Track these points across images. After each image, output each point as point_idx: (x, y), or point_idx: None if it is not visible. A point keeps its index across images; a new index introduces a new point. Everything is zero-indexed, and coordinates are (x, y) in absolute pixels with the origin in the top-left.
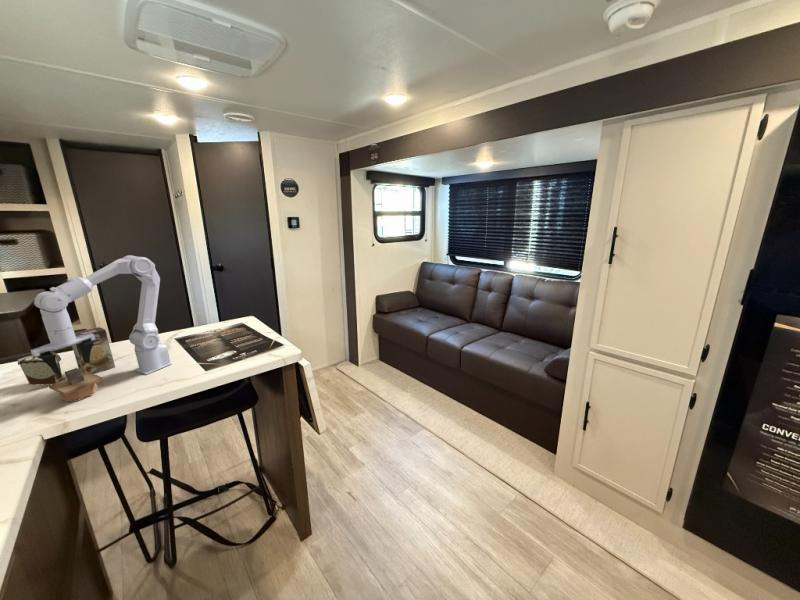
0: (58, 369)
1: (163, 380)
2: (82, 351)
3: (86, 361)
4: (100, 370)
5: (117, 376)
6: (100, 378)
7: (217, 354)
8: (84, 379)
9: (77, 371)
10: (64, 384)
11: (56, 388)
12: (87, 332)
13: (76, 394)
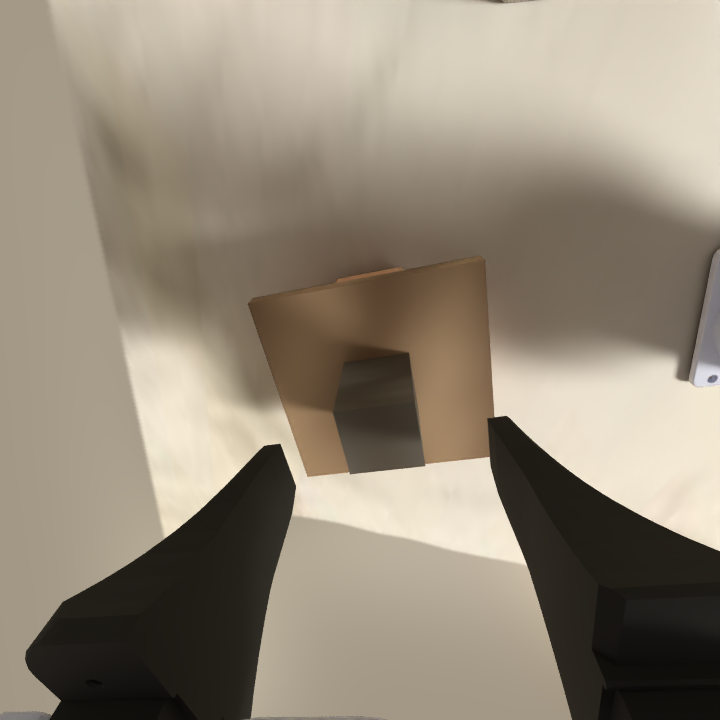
0: (287, 519)
1: (662, 502)
2: (535, 535)
3: (494, 468)
4: None
5: (606, 243)
6: (482, 455)
7: None
8: (421, 395)
9: (400, 464)
10: (324, 371)
11: (283, 392)
12: None
13: None
